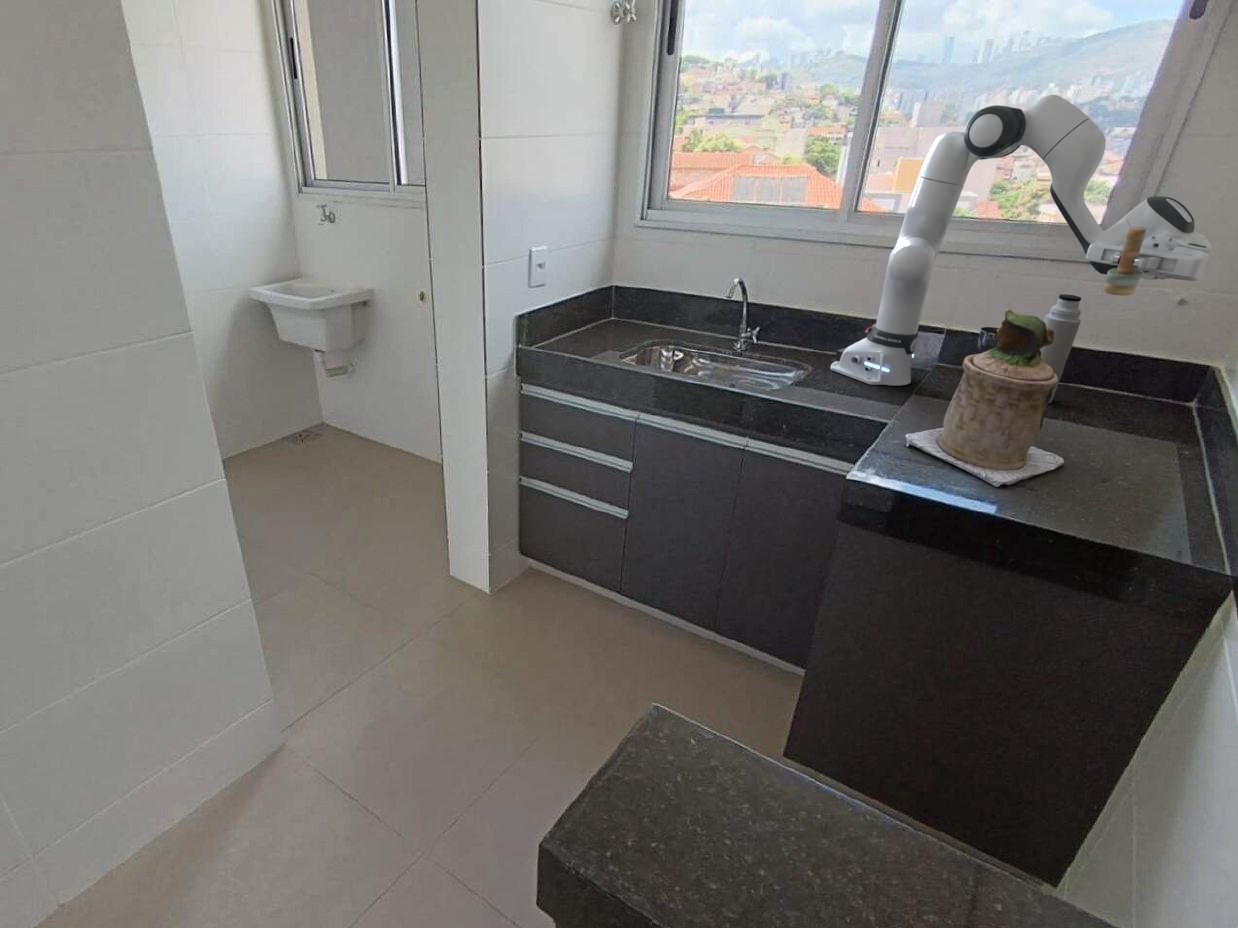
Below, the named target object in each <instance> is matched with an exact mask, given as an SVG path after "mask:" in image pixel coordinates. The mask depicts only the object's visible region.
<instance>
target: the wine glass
mask: <svg viewBox="0 0 1238 928" xmlns="http://www.w3.org/2000/svg"><path fill="white" fill-rule="evenodd" d="M999 328H1000V327H993V326H984V327H983V326H982V327H981V328H980V329H979V333H978V339H977V349H978V352H979V354H981V353H984V352H986V351H988V350H990V349H993V348H995V347H996V346H997V345H998V337H997V335H998V332H997V330H998V329H999Z"/></svg>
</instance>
